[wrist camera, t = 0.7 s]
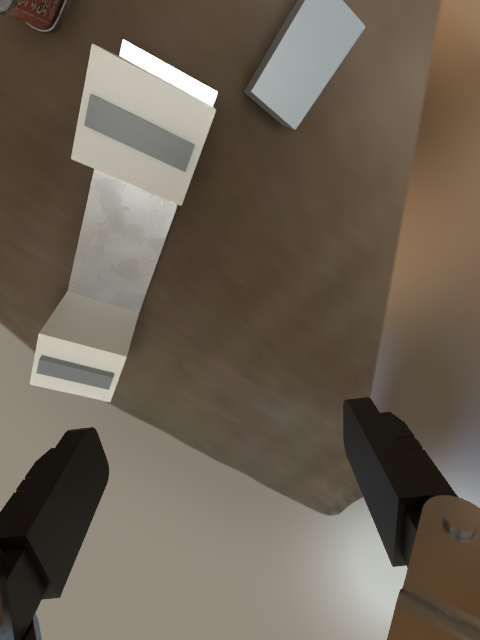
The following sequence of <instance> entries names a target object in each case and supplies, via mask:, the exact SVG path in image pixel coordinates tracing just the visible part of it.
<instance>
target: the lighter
mask: <svg viewBox="0 0 480 640" xmlns="http://www.w3.org/2000/svg"><path fill="white" fill-rule="evenodd" d="M70 3H71V0H0V15H9V16H12V17H14V18H16V19H19V20H21V21H24V22H26V23H27V24H28V25H29V26H31V27H32V28H34V29H36V30H38V31H41V32H43V33H54V32H56V31H57V30H58V29H59V28H60V26H61V24H62V22H63V19H64V17H65V15H66V13H67V11H68V8H69V6H70Z"/></svg>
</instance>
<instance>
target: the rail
mask: <svg viewBox="0 0 480 640" xmlns="http://www.w3.org/2000/svg"><path fill="white" fill-rule="evenodd" d="M119 56H120V57H122V58H124V59H126V60H128V61H130V62H131V63H133V64H135V65H137V66H139V67H141V68H143V69H144V70H146V71H148V72H150V73H152V74H154V75H156V76H157V77H159V78H161V79H163V80H165V81H167V82H169V83H170V84H172V85H174V86H176V87H178V88H180V89H182V90H183V91H185V92H187V93H189V94H191V95H193V96H194V97H196V98H198V99H200V100H202V101H204V102H206V103H207V104H209V105H211V106H213V104H214V102H215V99H216V96H217V93H218V92H217V91H215V90H214V89H212V88H210V87H208V86H206V85H205V84H203V83H201V82H199V81H197V80H196V79H194V78H192V77H190V76H188V75H187V74H185V73H183V72H181V71H179V70H178V69H176V68H174V67H172V66H171V65H169V64H167V63H165V62H163V61H162V60H160V59H158V58H156V57H154V56H153V55H151V54H149V53H147V52H145V51H144V50H142V49H140V48H138V47H136V46H135V45H133V44H131V43H129V42H127V41H126V40H124V39H123V41H122V45H121V50H120V54H119ZM177 205H178V204H176V203H173V202H171V201H169V200H166V199H164V198H162V197H159V196H157V195H155V194H152V193H150V192H147V191H145V190H143V189H140V188H138V187H136V186H133V185H131V184H129V183H126V182H124V181H122V180H119V179H117V178H115V177H112V176H110V175H108V174H105V173H103V172H101V171H98V170H96V169H94V173H93V178H92V182H91V187H90V191H89V196H88V200H87V205H86V209H85V214H84V219H83V223H82V228H81V232H80V237H79V241H78V246H77V251H76V255H75V260H74V264H73V269H72V273H71V278H70V282H69V287H68V291H69V292H73V293H76V294H79V295H82V296H85V297H89V298H92V299H95V300H98V301H101V302H105V303H108V304H111V305H114V306H118V307H121V308H124V309H127V310H130V311H134V312H137V313H139V312H140V309H141V306H142V303H143V301H144V298H145V295H146V292H147V289H148V287H149V284H150V281H151V278H152V275H153V273H154V270H155V267H156V264H157V261H158V259H159V256H160V253H161V250H162V247H163V245H164V242H165V239H166V236H167V233H168V231H169V228H170V225H171V222H172V219H173V217H174V214H175V211H176V208H177Z"/></svg>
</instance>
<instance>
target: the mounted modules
mask: <svg viewBox="0 0 480 640" xmlns="http://www.w3.org/2000/svg"><path fill="white" fill-rule="evenodd" d="M215 112H216V109H215V108H214V107H213V106H211V105H209V104H207V103H206V102H204V101H202V100H200V99H198V98H196V97H194V96H193V95H191V94H189V93H187V92H185V91H183V90H182V89H180V88H178V87H176V86H174V85H172V84H170V83H169V82H167V81H165V80H163V79H161V78H159V77H157V76H156V75H154V74H152V73H150V72H148V71H146V70H144V69H143V68H141V67H139V66H137V65H135V64H133V63H131V62H130V61H128V60H126V59H124V58H122V57H120V56H118V55H116V54H114V53H112V52H110V51H107V50H105V49H103V48H101V47H99V46H97V45H94V44H92V46H91V52H90V57H89V63H88V68H87V74H86V79H85V85H84V90H83V96H82V101H81V106H80V112H79V117H78V123H77V128H76V134H75V139H74V145H73V150H72V156H71V159H73V160H75V161H77V162H80V163H82V164H84V165H87V166H89V167H91V168H94V169H96V170H98V171H101V172H103V173H105V174H108V175H110V176H112V177H115V178H117V179H119V180H122V181H124V182H126V183H129V184H131V185H133V186H136V187H138V188H140V189H143V190H145V191H147V192H150V193H152V194H155V195H157V196H159V197H162V198H164V199H166V200H169V201H171V202H173V203H176V204H178V205H180V206H182V203H183V200H184V198H185V195H186V192H187V189H188V187H189V184H190V181H191V178H192V176H193V173H194V170H195V167H196V165H197V162H198V159H199V156H200V154H201V151H202V148H203V145H204V143H205V140H206V137H207V134H208V132H209V129H210V126H211V123H212V121H213V118H214V115H215ZM138 315H139V313H137V312H134V311H130V310H127V309H124V308H121V307H118V306H114V305H111V304H108V303H105V302H101V301H98V300H95V299H92V298H89V297H85V296H82V295H79V294H76V293H73V292H69V291H67V293H66V294H65V296H64V297H63V299H62V300H61V302H60V303H59V304H58V306H57V307H56V309H55V310H54V312H53V313H52V315H51V316H50V318H49V319H48V321H47V322H46V324H45V325H44V327H43V328H42V330H41V331H40V333H39V336H38V341H37V347H36V352H35V358H34V363H33V369H32V374H31V380H30V384H31V385H35V386H39V387H44V388H48V389H53V390H57V391H62V392H66V393H71V394H75V395H80V396H84V397H89V398H94V399H98V400H102V401H107V402H110V401H111V399H112V396H113V393H114V390H115V388H116V385H117V382H118V379H119V377H120V374H121V371H122V368H123V366H124V363H125V360H126V357H127V354H128V350H129V347H130V343H131V340H132V336H133V333H134V329H135V326H136V322H137V319H138Z"/></svg>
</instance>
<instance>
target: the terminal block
mask: <svg viewBox="0 0 480 640" xmlns="http://www.w3.org/2000/svg"><path fill="white" fill-rule="evenodd" d="M364 28H365V25H364V24H363V23H362V22H361V21H360V20H359V18H358V17H357V16H356V15H355V14H354V13H353V12H352V10H351V9H350V8H349V7H348V6H347V5H346V4H345V2H344V1H343V0H297V1H296V3H295V5H294V6H293V8H292V10H291V11H290V13H289V15H288V17H287V18H286V20H285V22H284V23H283V25H282V27H281V29H280V30H279V32H278V34H277V35H276V37H275V39H274V41H273V42H272V44H271V46H270V47H269V49H268V51H267V53H266V54H265V56H264V58H263V59H262V61H261V63H260V65H259V66H258V68H257V70H256V71H255V73H254V75H253V77H252V78H251V80H250V82H249V83H248V85H247V87H246V89H245V90H244V93H245V94H246V95H248V96H249V97H250V98H251V99H252V100H253V101H255V102H256V103H257V104H258V105H259V106H260V107H262V108H263V109H264V110H265V111H266V112H267V113H269V114H270V115H271V116H272V117H273V118H274V119H276V120H277V121H278V122H279V123H280V124H281V125H283V126H286V127H289V128H291V129H294V130H296V128H297V127H298V126H299V124H300V123H301V121H302V120H303V118H304V117H305V115H306V114H307V112H308V111H309V109H310V108H311V106H312V105H313V103H314V102H315V100H316V99H317V98H318V96H319V95H320V93H321V92H322V90H323V89H324V87H325V86H326V84H327V83H328V81H329V80H330V78H331V77H332V75H333V74H334V73H335V71H336V70H337V68H338V67H339V65H340V64H341V62H342V61H343V59H344V58H345V56H346V55H347V53H348V52H349V50H350V49H351V47H352V46H353V45H354V43H355V42H356V40H357V39H358V37H359V36H360V34H361V33H362V31H363V30H364Z"/></svg>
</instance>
